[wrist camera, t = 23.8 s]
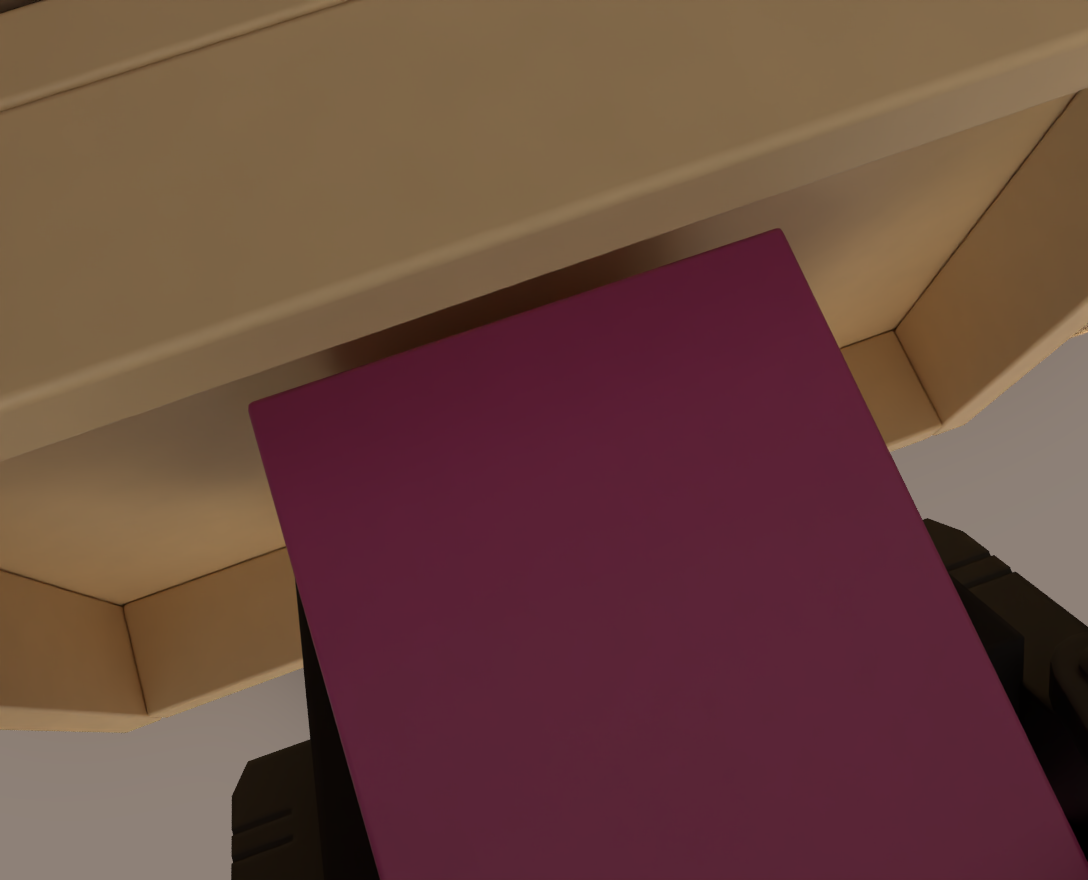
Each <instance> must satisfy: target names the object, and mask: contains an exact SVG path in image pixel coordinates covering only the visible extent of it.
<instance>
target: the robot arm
mask: <svg viewBox="0 0 1088 880" xmlns="http://www.w3.org/2000/svg"><path fill="white" fill-rule="evenodd" d="M923 522H924V524H925V526H926V529H927V531H928V533H929V535H930V537H931V539H932V541H933V543H934V545H935V547H936V549H937V551H938V553H939V555H940V558H941V560H942V562H943V564H944V566H945V568H946V570H947V572H948V574H949V576H950V578H951V580H952V582H953V584H954V586H955V589H956V591H957V593H958V595H959V597H960V599H961V601H962V603H963V605H964V607H965V609H966V611H967V613H968V615H969V618H970V620H971V622H972V624H973V626H974V628H975V630H976V632H977V634H978V636H979V638H980V640H981V642H982V644H983V647H984V649H985V651H986V653H987V655H988V657H989V659H990V661H991V663H992V665H993V667H994V669H995V671H996V673H997V675H998V678H999V680H1000V682H1001V684H1002V686H1003V688H1004V690H1005V692H1006V694H1007V696H1008V698H1009V700H1010V702H1011V704H1012V707H1013V709H1014V711H1015V713H1016V715H1017V717H1018V719H1019V721H1020V723H1021V725H1022V727H1023V729H1024V731H1025V733H1026V735H1027V738H1028V740H1029V742H1030V744H1031V746H1032V748H1033V750H1034V752H1035V754H1036V756H1037V758H1038V760H1039V762H1040V764H1041V767H1042V769H1043V771H1044V773H1045V775H1046V777H1047V779H1048V781H1049V783H1050V785H1051V787H1052V789H1053V791H1054V793H1055V795H1056V798H1057V800H1058V802H1059V804H1060V806H1061V808H1062V810H1063V812H1064V814H1065V816H1066V818H1067V820H1068V822H1069V824H1070V827H1071V829H1072V831H1073V833H1074V835H1075V837H1076V839H1077V841H1078V843H1079V845H1080V847H1081V849H1082V851H1083V853H1084V855H1085V858H1086V860H1087V862H1088V627H1087V626H1086V625H1085V624H1083V623H1082V622H1081V621H1079V620H1078V619H1077V618H1076V617H1074V616H1073V615H1072V614H1070V613H1069V612H1067V611H1066V610H1065V609H1064V608H1063V607H1061V606H1060V605H1059V604H1057V603H1056V602H1055V601H1053V600H1052V599H1050V598H1049V597H1048V596H1047V595H1046V594H1044V593H1043V592H1042V591H1040V590H1039V589H1038V588H1036V587H1035V586H1034V585H1032V584H1031V583H1030V582H1029V581H1027V580H1026V579H1025V578H1023V577H1022V576H1020V575H1019V574H1018V573H1017V572H1012V571H1011V569H1010V567H1009V566H1008V565H1006V564H1005V563H1004V562H1002V561H1001V560H1000V559H998V558H997V557H996V556H995V555H993V556H991V555H990V553H989V551H988V550H987V549H985V548H984V547H983V546H981V545H980V544H979V543H977V542H976V541H975V540H974V539H972V538H971V537H970V536H968V535H967V534H966V533H964V532H963V531H961V530H958V529H955V528H952V527H949V526H947V525H944V524H941V523H939V522H936V521H933V520H931V519H928V518H927V519H924V520H923ZM295 584H296V595H297V605H298V615H299V626H300V636H301V646H302V657H303V667H304V677H305V688H306V698H307V708H308V718H309V729H310V740H307V741H304V742H302V743H299V744H296V745H293V746H291V747H287V748H285V749H282V750H279V751H276V752H273V753H271V754H268V755H265V756H262V757H259V758H257V759H254V760H251V761H248V763H247V765H246V767H245V769H244V771H243V773H242V775H241V778H240V780H239V782H238V784H237V786H236V788H235V791H234V793H233V795H232V831H233V836H232V859H233V863H232V868H231V869H232V871H231V873H232V874H231V880H380V878H379V874H378V870H377V867H376V863H375V860H374V856H373V853H372V849H371V846H370V842H369V839H368V835H367V831H366V828H365V824H364V821H363V817H362V814H361V810H360V807H359V803H358V800H357V796H356V792H355V789H354V785H353V782H352V778H351V775H350V771H349V768H348V764H347V761H346V757H345V753H344V750H343V746H342V743H341V739H340V736H339V732H338V729H337V725H336V722H335V718H334V714H333V711H332V707H331V704H330V700H329V697H328V693H327V690H326V686H325V683H324V679H323V675H322V672H321V668H320V665H319V661H318V658H317V654H316V651H315V647H314V644H313V640H312V636H311V633H310V629H309V626H308V622H307V619H306V615H305V612H304V608H303V605H302V601H301V597H300V594H299V590H298V587H297V583H296V580H295Z"/></svg>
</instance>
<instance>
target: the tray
mask: <svg viewBox="0 0 1088 880" xmlns="http://www.w3.org/2000/svg"><path fill="white" fill-rule="evenodd" d="M775 228H780V229H781V230H782V231H783V233H784V235H785V237H786V239H787V241H788V243H789V245H790V247H791V249H792V251H793V253H794V255H795V258H796V260H797V262H798V264H799V266H800V268H801V270H802V272H803V274H804V276H805V278H806V280H807V282H808V284H809V286H810V289H811V291H812V293H813V295H814V297H815V299H816V301H817V303H818V305H819V307H820V309H821V311H822V313H823V315H824V318H825V320H826V322H827V324H828V326H829V328H830V330H831V332H832V334H833V336H834V338H835V340H836V342H837V344H838V346H839V349H840V351H841V353H842V355H843V357H844V359H845V361H846V363H847V365H848V367H849V369H850V371H851V373H852V375H853V378H854V380H855V382H856V384H857V386H858V388H859V390H860V392H861V394H862V396H863V398H864V400H865V402H866V404H867V406H868V409H869V411H870V413H871V415H872V417H873V419H874V421H875V423H876V425H877V427H878V429H879V431H880V433H881V435H882V438H883V440H884V442H885V444H886V446H887V448H888V450H889V452H891V451H894V450H897V449H900V448H902V447H905V446H908V445H910V444H913V443H916V442H919V441H921V440H924V439H927V438H929V437H930V436H931V435H938V434H941V433H943V432H946V431H949V430H951V429H954V428H957V427H960V426H962V425H965V424H966V423H967V422H968V421H970V420H971V419H972V418H973V417H974V416H975V415H977V414H978V413H979V412H980V411H982V410H983V409H984V408H985V407H986V406H988V405H989V404H990V403H991V402H992V401H994V400H995V399H996V398H998V397H999V396H1000V395H1001V394H1002V393H1004V392H1005V391H1006V390H1007V389H1008V388H1010V387H1011V386H1012V385H1013V384H1015V383H1016V382H1017V381H1018V380H1019V379H1020V378H1022V377H1023V376H1024V375H1025V374H1027V373H1028V372H1029V371H1030V370H1031V369H1033V368H1034V367H1035V366H1036V365H1037V364H1039V363H1040V362H1041V361H1043V360H1044V359H1045V358H1046V357H1047V356H1049V355H1050V354H1051V353H1052V352H1053V351H1055V350H1056V349H1057V348H1058V347H1060V346H1061V345H1062V344H1063V343H1064V342H1066V341H1067V340H1068V339H1069V338H1070V337H1072V336H1073V335H1074V334H1075V333H1077V332H1078V331H1079V330H1080V329H1081V328H1083V327H1084V326H1085V325H1086V324H1088V0H42V1H39V2H36V3H33V4H30V5H26V6H23V7H20V8H17V9H13V10H10V11H7V12H4V13H1V14H0V730H31V731H33V730H34V731H73V732H76V731H77V732H114V733H126V732H129V731H132V730H135V729H137V728H140V727H143V726H145V725H148V724H151V723H154V722H156V721H159V720H160V719H161V718H162V717H165V718H167V717H169V716H173V715H175V714H178V713H181V712H183V711H186V710H189V709H192V708H194V707H197V706H200V705H203V704H205V703H208V702H210V701H213V700H216V699H219V698H221V697H224V696H227V695H229V694H232V693H235V692H238V691H241V690H243V689H246V688H249V687H251V686H254V685H257V684H259V683H262V682H265V681H268V680H271V679H273V678H276V677H279V676H281V675H284V674H287V673H289V672H292V671H295V670H298V669H300V668H303V657H302V646H301V636H300V626H299V615H298V605H297V595H296V584H295V576H294V573H293V569H292V566H291V562H290V558H289V555H288V551H287V548H286V544H285V541H284V537H283V534H282V530H281V527H280V523H279V519H278V516H277V512H276V509H275V505H274V502H273V498H272V495H271V491H270V488H269V484H268V480H267V477H266V473H265V470H264V466H263V463H262V459H261V456H260V452H259V449H258V445H257V441H256V438H255V434H254V431H253V427H252V424H251V420H250V417H249V413H248V406H249V404H250V403H251V402H253V401H256V400H259V399H262V398H265V397H268V396H271V395H274V394H277V393H280V392H283V391H286V390H289V389H292V388H295V387H298V386H302V385H305V384H308V383H311V382H314V381H317V380H320V379H323V378H326V377H329V376H332V375H335V374H338V373H341V372H344V371H347V370H350V369H353V368H356V367H359V366H362V365H365V364H368V363H371V362H374V361H377V360H380V359H383V358H386V357H389V356H392V355H395V354H398V353H401V352H404V351H407V350H410V349H413V348H416V347H419V346H422V345H425V344H428V343H431V342H434V341H437V340H440V339H443V338H446V337H449V336H452V335H455V334H458V333H461V332H464V331H467V330H470V329H473V328H477V327H480V326H483V325H486V324H489V323H492V322H495V321H498V320H501V319H504V318H507V317H510V316H513V315H516V314H519V313H522V312H525V311H528V310H531V309H534V308H537V307H540V306H543V305H546V304H549V303H552V302H555V301H558V300H561V299H564V298H567V297H570V296H573V295H576V294H579V293H582V292H585V291H588V290H591V289H594V288H597V287H600V286H603V285H606V284H609V283H612V282H615V281H618V280H621V279H624V278H627V277H630V276H633V275H636V274H639V273H642V272H645V271H649V270H652V269H655V268H658V267H661V266H664V265H667V264H670V263H673V262H676V261H679V260H682V259H685V258H688V257H691V256H694V255H697V254H700V253H703V252H706V251H709V250H712V249H715V248H718V247H721V246H724V245H727V244H730V243H733V242H736V241H739V240H742V239H745V238H748V237H751V236H754V235H757V234H760V233H763V232H766V231H769V230H772V229H775Z"/></svg>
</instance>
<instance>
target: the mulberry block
mask: <svg viewBox="0 0 1088 880" xmlns="http://www.w3.org/2000/svg"><path fill="white" fill-rule="evenodd" d="M248 413H249V417H250V420H251V424H252V427H253V431H254V434H255V438H256V441H257V445H258V449H259V452H260V456H261V459H262V463H263V466H264V470H265V473H266V477H267V480H268V484H269V488H270V491H271V495H272V498H273V502H274V505H275V509H276V512H277V516H278V519H279V523H280V527H281V530H282V534H283V537H284V541H285V544H286V548H287V551H288V555H289V558H290V562H291V566H292V569H293V573H294V576H295V580H296V583H297V587H298V590H299V594H300V597H301V601H302V605H303V608H304V612H305V615H306V619H307V622H308V626H309V629H310V633H311V636H312V640H313V644H314V647H315V651H316V654H317V658H318V661H319V665H320V668H321V672H322V675H323V679H324V683H325V686H326V690H327V693H328V697H329V700H330V704H331V707H332V711H333V714H334V718H335V722H336V725H337V729H338V732H339V736H340V739H341V743H342V746H343V750H344V753H345V757H346V761H347V764H348V768H349V771H350V775H351V778H352V782H353V785H354V789H355V792H356V796H357V800H358V803H359V807H360V810H361V814H362V817H363V821H364V824H365V828H366V831H367V835H368V839H369V842H370V846H371V849H372V853H373V856H374V860H375V863H376V867H377V870H378V874H379V878H380V880H1088V862H1087V860H1086V858H1085V855H1084V853H1083V851H1082V849H1081V847H1080V845H1079V843H1078V841H1077V839H1076V837H1075V835H1074V833H1073V831H1072V829H1071V827H1070V824H1069V822H1068V820H1067V818H1066V816H1065V814H1064V812H1063V810H1062V808H1061V806H1060V804H1059V802H1058V800H1057V798H1056V795H1055V793H1054V791H1053V789H1052V787H1051V785H1050V783H1049V781H1048V779H1047V777H1046V775H1045V773H1044V771H1043V769H1042V767H1041V764H1040V762H1039V760H1038V758H1037V756H1036V754H1035V752H1034V750H1033V748H1032V746H1031V744H1030V742H1029V740H1028V738H1027V735H1026V733H1025V731H1024V729H1023V727H1022V725H1021V723H1020V721H1019V719H1018V717H1017V715H1016V713H1015V711H1014V709H1013V707H1012V704H1011V702H1010V700H1009V698H1008V696H1007V694H1006V692H1005V690H1004V688H1003V686H1002V684H1001V682H1000V680H999V678H998V675H997V673H996V671H995V669H994V667H993V665H992V663H991V661H990V659H989V657H988V655H987V653H986V651H985V649H984V647H983V644H982V642H981V640H980V638H979V636H978V634H977V632H976V630H975V628H974V626H973V624H972V622H971V620H970V618H969V615H968V613H967V611H966V609H965V607H964V605H963V603H962V601H961V599H960V597H959V595H958V593H957V591H956V589H955V586H954V584H953V582H952V580H951V578H950V576H949V574H948V572H947V570H946V568H945V566H944V564H943V562H942V560H941V558H940V555H939V553H938V551H937V549H936V547H935V545H934V543H933V541H932V539H931V537H930V535H929V533H928V531H927V529H926V526H925V524H924V522H923V520H922V518H921V516H920V514H919V512H918V510H917V508H916V506H915V504H914V502H913V500H912V498H911V496H910V493H909V491H908V489H907V487H906V485H905V483H904V481H903V479H902V477H901V475H900V473H899V471H898V469H897V467H896V465H895V462H894V460H893V458H892V456H891V454H890V452H889V450H888V448H887V446H886V444H885V442H884V440H883V438H882V435H881V433H880V431H879V429H878V427H877V425H876V423H875V421H874V419H873V417H872V415H871V413H870V411H869V409H868V406H867V404H866V402H865V400H864V398H863V396H862V394H861V392H860V390H859V388H858V386H857V384H856V382H855V380H854V378H853V375H852V373H851V371H850V369H849V367H848V365H847V363H846V361H845V359H844V357H843V355H842V353H841V351H840V349H839V346H838V344H837V342H836V340H835V338H834V336H833V334H832V332H831V330H830V328H829V326H828V324H827V322H826V320H825V318H824V315H823V313H822V311H821V309H820V307H819V305H818V303H817V301H816V299H815V297H814V295H813V293H812V291H811V289H810V286H809V284H808V282H807V280H806V278H805V276H804V274H803V272H802V270H801V268H800V266H799V264H798V262H797V260H796V258H795V255H794V253H793V251H792V249H791V247H790V245H789V243H788V241H787V239H786V237H785V235H784V233H783V231H782V230H781V229H780V228H775V229H772V230H769V231H766V232H763V233H760V234H757V235H754V236H751V237H748V238H745V239H742V240H739V241H736V242H733V243H730V244H727V245H724V246H721V247H718V248H715V249H712V250H709V251H706V252H703V253H700V254H697V255H694V256H691V257H688V258H685V259H682V260H679V261H676V262H673V263H670V264H667V265H664V266H661V267H658V268H655V269H652V270H649V271H645V272H642V273H639V274H636V275H633V276H630V277H627V278H624V279H621V280H618V281H615V282H612V283H609V284H606V285H603V286H600V287H597V288H594V289H591V290H588V291H585V292H582V293H579V294H576V295H573V296H570V297H567V298H564V299H561V300H558V301H555V302H552V303H549V304H546V305H543V306H540V307H537V308H534V309H531V310H528V311H525V312H522V313H519V314H516V315H513V316H510V317H507V318H504V319H501V320H498V321H495V322H492V323H489V324H486V325H483V326H480V327H477V328H473V329H470V330H467V331H464V332H461V333H458V334H455V335H452V336H449V337H446V338H443V339H440V340H437V341H434V342H431V343H428V344H425V345H422V346H419V347H416V348H413V349H410V350H407V351H404V352H401V353H398V354H395V355H392V356H389V357H386V358H383V359H380V360H377V361H374V362H371V363H368V364H365V365H362V366H359V367H356V368H353V369H350V370H347V371H344V372H341V373H338V374H335V375H332V376H329V377H326V378H323V379H320V380H317V381H314V382H311V383H308V384H305V385H302V386H298V387H295V388H292V389H289V390H286V391H283V392H280V393H277V394H274V395H271V396H268V397H265V398H262V399H259V400H256V401H253V402H251V403H250V404H249V406H248Z"/></svg>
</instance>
